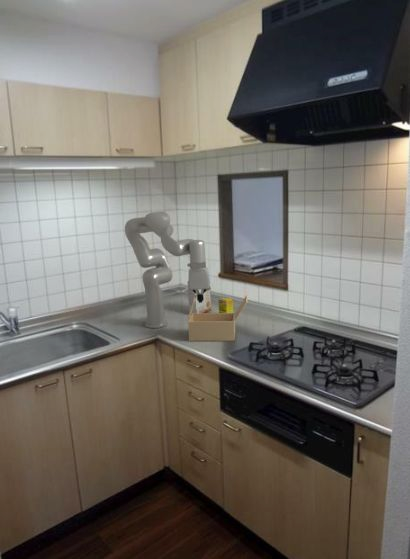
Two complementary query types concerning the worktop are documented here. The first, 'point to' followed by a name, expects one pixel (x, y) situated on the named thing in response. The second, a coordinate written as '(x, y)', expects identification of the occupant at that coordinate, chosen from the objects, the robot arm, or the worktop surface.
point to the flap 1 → (192, 307)
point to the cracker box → (198, 306)
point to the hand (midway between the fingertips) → (200, 302)
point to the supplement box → (225, 305)
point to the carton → (211, 327)
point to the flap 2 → (240, 308)
